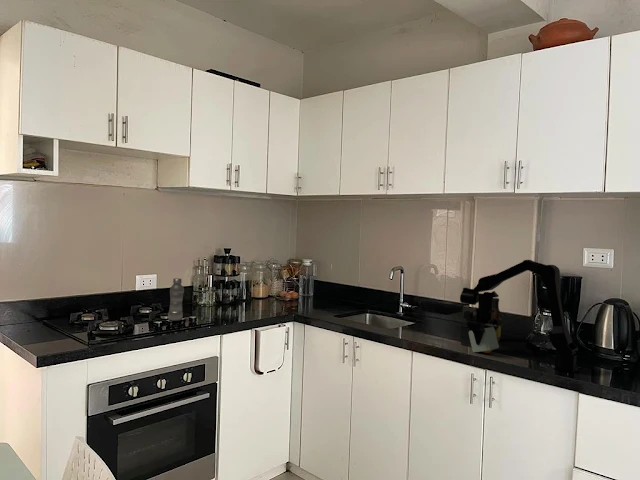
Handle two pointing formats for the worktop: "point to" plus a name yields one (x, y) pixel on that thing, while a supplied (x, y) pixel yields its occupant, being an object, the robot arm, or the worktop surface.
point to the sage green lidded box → (485, 340)
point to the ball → (487, 351)
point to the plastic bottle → (176, 300)
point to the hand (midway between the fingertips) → (482, 343)
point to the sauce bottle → (497, 316)
